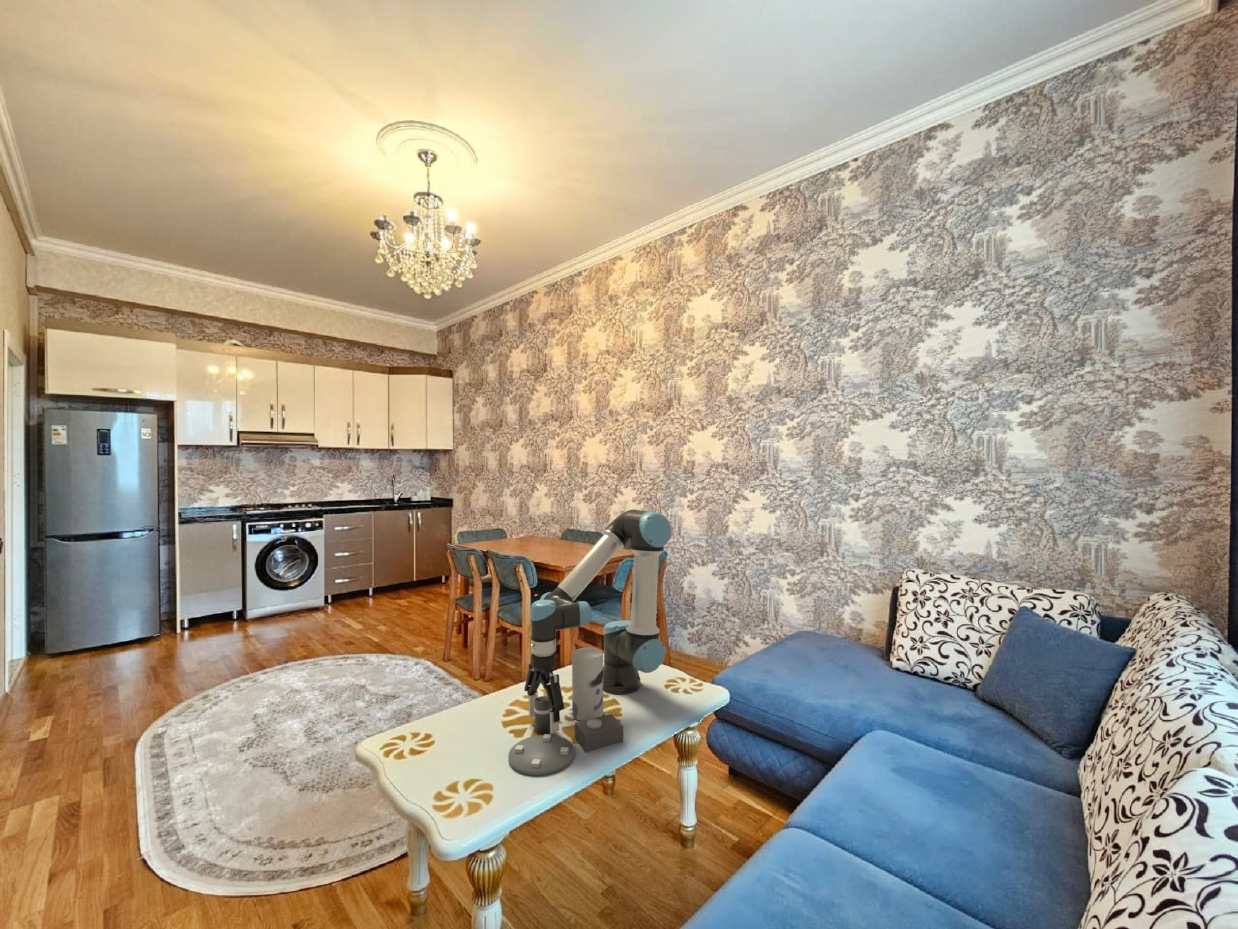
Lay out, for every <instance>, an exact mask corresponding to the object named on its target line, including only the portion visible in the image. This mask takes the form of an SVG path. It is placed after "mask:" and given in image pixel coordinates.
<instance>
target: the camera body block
mask: <svg viewBox="0 0 1238 929" xmlns="http://www.w3.org/2000/svg"><path fill="white" fill-rule="evenodd" d="M574 739H575V741H576V742H577V744H578V745H579V746H580V747H581V749H582V750H583V751H584V753H588V752H591V751H595V750H600V749H603V748H607V747H610V746H615V745H617V744H622V743H624V725H623V723H621V722H620V721H619V720H618V718H616V717H615V716H614V714H612V713H610V714H605V715H603V716H601V717H597V718H593V719H589V720H584V721H580V720H579V721H577V722H574Z"/></svg>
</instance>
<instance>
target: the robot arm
mask: <svg viewBox="0 0 1238 929" xmlns="http://www.w3.org/2000/svg"><path fill="white" fill-rule="evenodd" d="M671 536H672V527H671V524H670V521H669V519H668V518H667V517H666V516H665V515H664V514H663V513H661V512H656V511H652V510H641V509H628V510H626V511H624V512H622V513H620V514H619V515H618V516H616V517H615V518H614V519H613V520H612V521H611V522H610V523H609V524H608V525H607V526H606V527H605V529H603V531H602V536H601V537H600V538H599V539H598V541H597V542H595V544H594V545H593V546H592V547H591V548H590V549H589V550H588V552H587V553H586V554H585V555H584V556H583V557H582V558H581V559H580V561H579V562H578V563H577V564H576V565H575V566H574V568H573V569H572V570H571V571H570V572H569V573H568V574H567V575H566V576H565V577H564V578H563V580H562V581H561V582H560V583H559V584H558V585H557V587H555V589H554V590H552V591H549V592H546V593H544V594H543V595H541V597H540V599H539V600H536V601H534V602H533V603H532V604H531V606H530V607H531V608H530V616H529V617H530V651H531V654H530V663H528V672H527V675H526V676H527V677H526V680H525V685H524V691H525V692H526V694H527V695H528V718H530V719H531V718H535V714H534V700H535V699H536V698H538V697H539V696H538V689H539V687H540V685H542V688H543V689H544V690H545V692H546V696H548V699H549V702H550V705H551V709H552V710H550V733H549V734H551V735H553V734H554V733H557V732H560V719H561V718H560V716H561V711H563V710H565V704H564V699H563V693H562V689H561V684H560V675H559V674H558V673H557V674H554V670H553V669H554V667H555V665H556V663H557V658H556V657H557V655H556V651H557V641H556V638H557V637H556V636H557V634H556V633H557V631H562V630H563V631H564V630H569V629H573V628H580V627H583V626H587V625H588V624H590V623H591V621H592V609H591V606H590V604H589V603H588V601H583V600H581V601H580V600H578V601H576V602H574V601H575V600H576V599H577V598H578V596H580V594H582V593H583V591H584V590H585V588H587V586H588V585H589V584H590V583H591V582H592V581H593V580H594V579H595V577H597V575H598V574H599V572H601V570H602V569H603V568H604V567H605V565H606V564H607V563H608V562H609V561H610V560H611V559H612V558H613V557H614V556H615V554H616V553H617V552H618V551H619V550H624V548H625V547H626V546H627V545H628V544H630V546H629V548H630V551H631V552H632V553H633V555H634V556H633V574H632V592H631V593H632V594H631V612H630V620H628V619H627V620H626V619H625V620H614V621H609V622H608V623H606V624H605V625H604V626H603V692H605V693H609V694H616V695H625V694H630V693H631V694H632V693H633V692H636V691H637V690H639V689H640V688H641V677H640V675H639V674H640V672H641V673H644V674H649V673H653V672H655V671H656V670H658V669H659V667H660V666H661V665H662V664H663V662H664V660H665V658H666V657H665V656H666V646H665V644H663V642H662V640H661V639H660V631H661V630H660V628H659V627H658V626H657V624H656V622H657V621H656V620H657V617H656V616H657V600H658V599H657V598H658V582H659V579H658V578H659V561H660V560H659V558H660V555H661V554H663V552H664V548H665V546H666V545H667V544H668V541H670V539H671Z"/></svg>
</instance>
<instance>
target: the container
mask: <svg viewBox="0 0 1238 929" xmlns="http://www.w3.org/2000/svg"><path fill="white" fill-rule="evenodd" d="M571 660H572V661H571V662H572V663H571V668H572V669H571V676H572V677H571V678H572V679H571V681H572V684H571V687H572V688H571V689H572V693H571V694H572V697H571V699H572V705H571V706H572V708H571V711H572V712H571V713H572V717H573V718H574V719H575V720H577V721H579V722H580V721H584V720H589V719H593V718H597V717H601V716H604V691H603V666H604V650H602V649H599V648H596V647H581V648H576V649H575V650H573V651H572V653H571Z"/></svg>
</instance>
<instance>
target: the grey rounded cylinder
mask: <svg viewBox="0 0 1238 929" xmlns="http://www.w3.org/2000/svg"><path fill="white" fill-rule="evenodd" d="M550 710H552V709H551V705H550V702H549V699H548V696H547V695H541V696H538V698H536V699H535V700H534V714H535V716H534V732H535V733H536V734H538V735H544V734H551V733H550Z"/></svg>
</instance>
